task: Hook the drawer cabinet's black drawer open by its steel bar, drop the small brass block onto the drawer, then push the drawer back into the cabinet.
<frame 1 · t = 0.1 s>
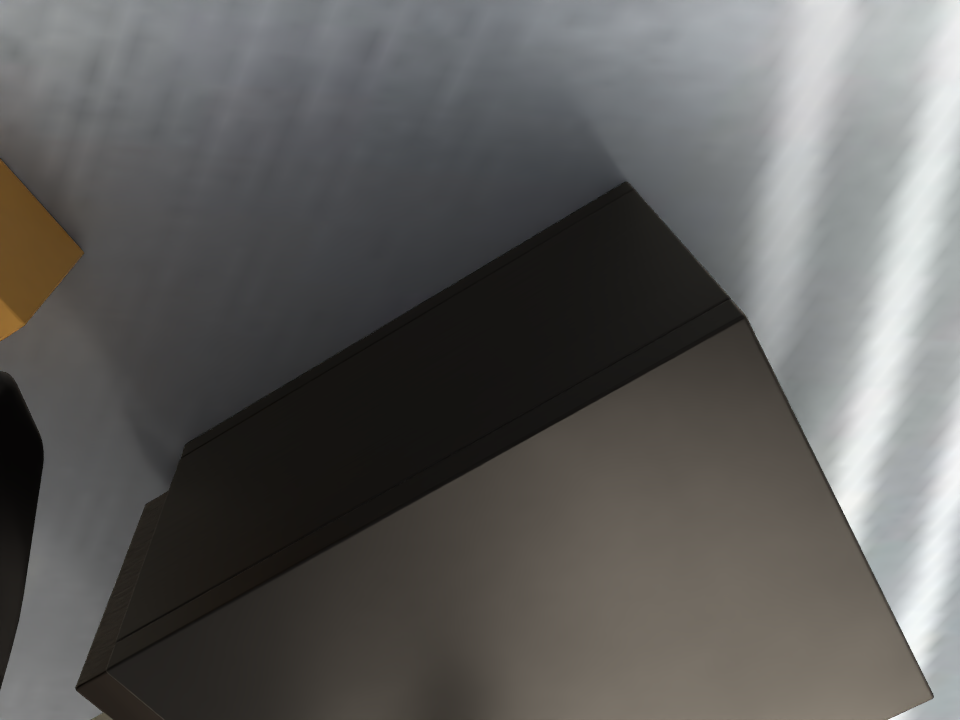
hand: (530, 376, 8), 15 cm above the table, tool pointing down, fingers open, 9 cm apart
black drawer: (375, 637, 24), point 4 cm above the table, slide at 0.5 cm
drawer cabinet: (503, 467, 27), on the table
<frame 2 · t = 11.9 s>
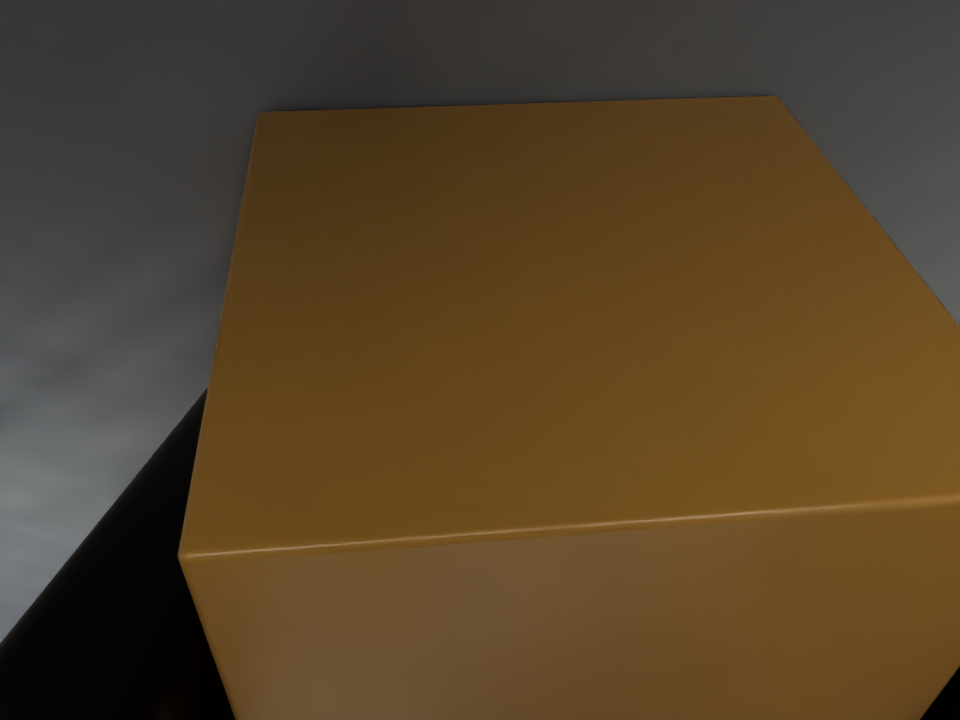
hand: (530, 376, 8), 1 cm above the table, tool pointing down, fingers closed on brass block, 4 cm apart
brass block: (513, 307, 9), on the table, touching gripper
when the fingers open (7 cm above the table, at t = 16.3 s): brass block drops 4 cm, resting on black drawer.
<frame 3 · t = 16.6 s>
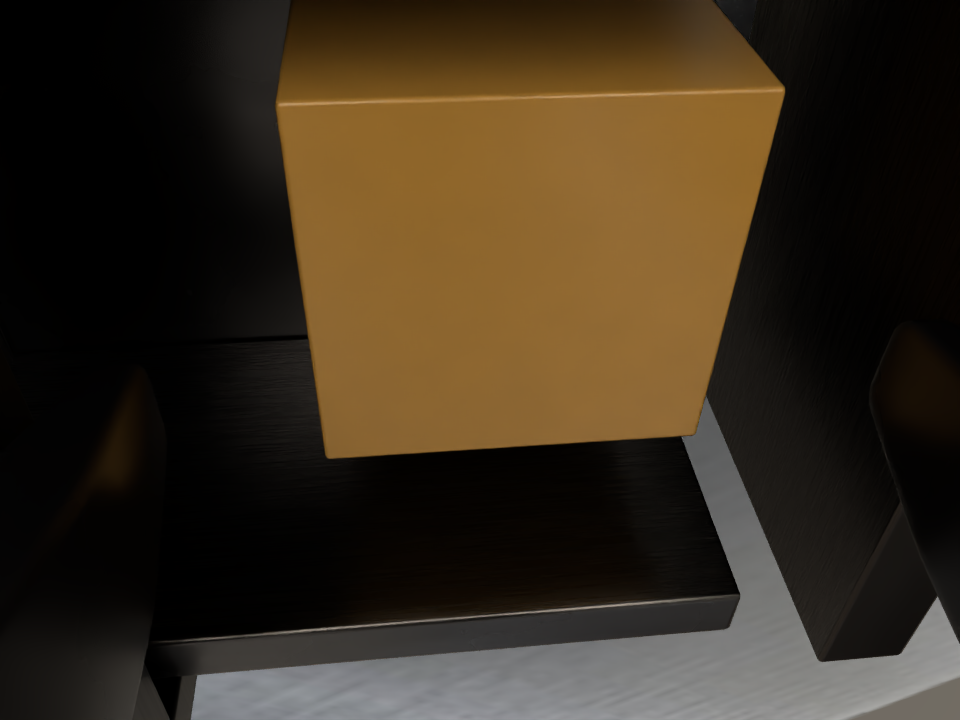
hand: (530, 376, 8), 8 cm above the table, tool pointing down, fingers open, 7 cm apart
black drawer: (582, 190, 11), point 4 cm above the table, slide at 8.4 cm, touching brass block
brass block: (479, 104, 12), point 2 cm above the table, touching black drawer
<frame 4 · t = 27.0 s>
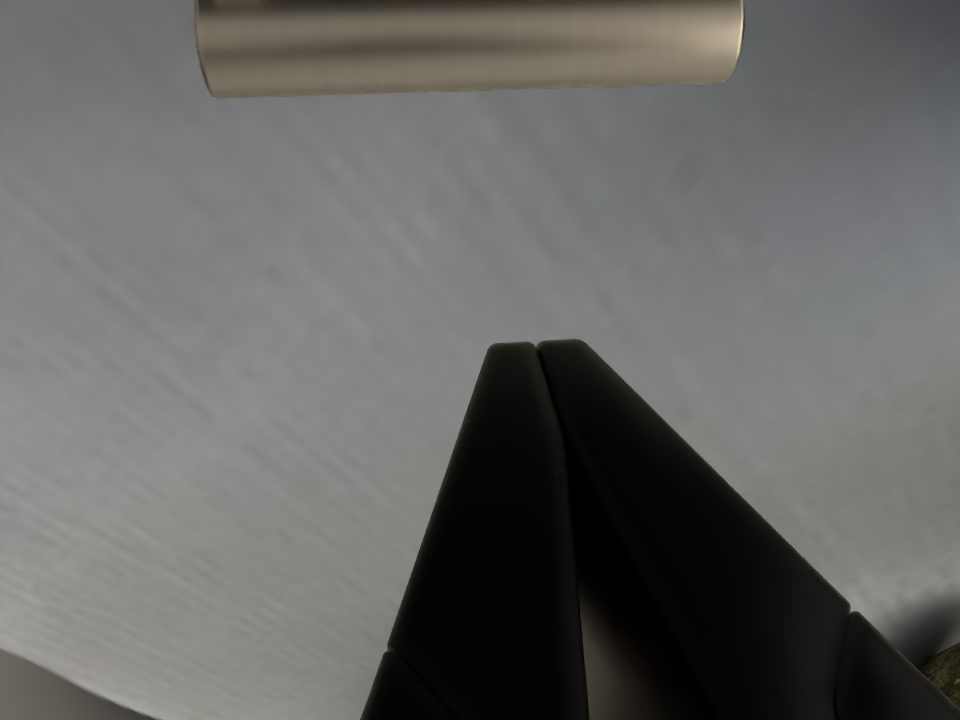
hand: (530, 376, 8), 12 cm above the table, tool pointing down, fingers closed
decorative stone: (941, 660, 39), on the table
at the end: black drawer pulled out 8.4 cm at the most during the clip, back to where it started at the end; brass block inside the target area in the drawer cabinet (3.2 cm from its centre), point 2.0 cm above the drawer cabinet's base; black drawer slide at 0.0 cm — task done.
